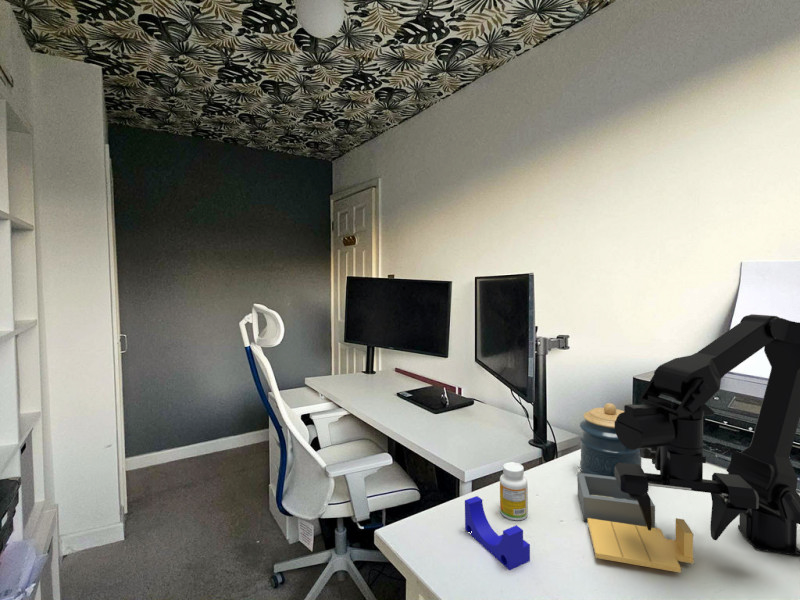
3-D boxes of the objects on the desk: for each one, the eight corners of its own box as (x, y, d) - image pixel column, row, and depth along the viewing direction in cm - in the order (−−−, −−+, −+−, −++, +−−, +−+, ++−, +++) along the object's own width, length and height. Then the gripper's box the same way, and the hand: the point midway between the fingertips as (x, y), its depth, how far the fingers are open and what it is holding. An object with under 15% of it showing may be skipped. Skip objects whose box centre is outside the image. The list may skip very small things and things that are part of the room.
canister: (599, 459, 102) (599, 392, 101) (653, 480, 91) (653, 405, 90) (568, 473, 95) (568, 401, 94) (622, 498, 84) (622, 417, 83)
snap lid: (677, 541, 70) (677, 509, 70) (700, 582, 60) (700, 546, 60) (587, 527, 75) (587, 497, 74) (595, 563, 65) (595, 529, 65)
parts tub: (640, 503, 82) (640, 479, 82) (655, 532, 72) (655, 506, 72) (577, 495, 86) (577, 472, 85) (583, 522, 76) (583, 497, 76)
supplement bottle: (507, 502, 83) (506, 458, 83) (532, 511, 80) (531, 465, 80) (495, 514, 79) (494, 467, 79) (521, 524, 76) (520, 475, 75)
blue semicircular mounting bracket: (530, 561, 66) (529, 527, 66) (509, 571, 64) (509, 535, 64) (483, 523, 77) (483, 493, 77) (465, 530, 75) (464, 500, 75)
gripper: (726, 429, 69) (725, 514, 70) (608, 420, 75) (608, 499, 76) (761, 456, 59) (760, 557, 59) (621, 443, 65) (621, 535, 65)
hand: (680, 533), depth 65 cm, fingers open, 9 cm apart
